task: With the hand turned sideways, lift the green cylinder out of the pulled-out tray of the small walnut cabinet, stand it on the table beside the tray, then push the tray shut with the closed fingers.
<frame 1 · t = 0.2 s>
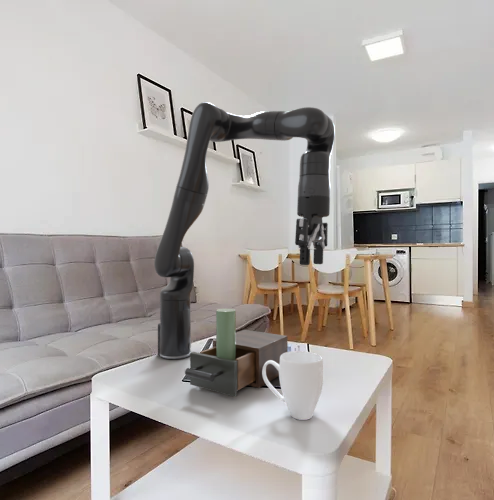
hand: (311, 264, 86), 29 cm above the table, tool pointing down, fingers open, 8 cm apart
green cylinder: (226, 377, 86), point 2 cm above the table, touching drawer
mug: (291, 414, 72), on the table
cabinet: (250, 373, 95), on the table
drawer: (223, 368, 85), point 5 cm above the table, slide at 8.0 cm, touching green cylinder
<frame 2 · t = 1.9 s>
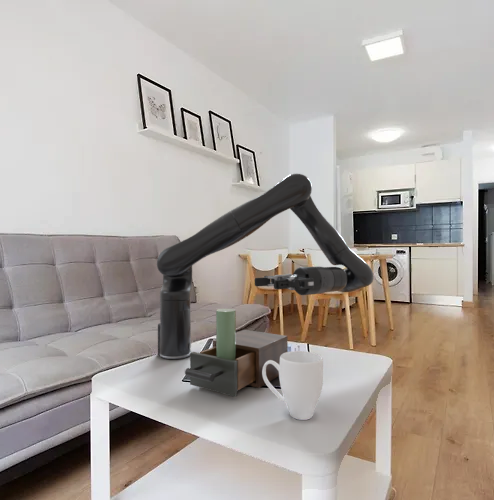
hand: (264, 283, 91), 24 cm above the table, tool horizontal, fingers open, 8 cm apart
nothing on the table moved.
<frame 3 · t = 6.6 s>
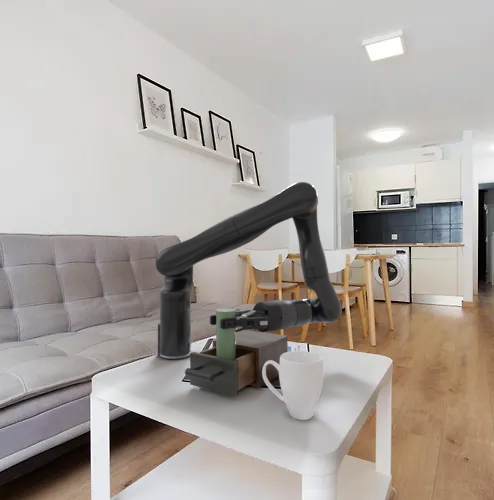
hand: (215, 322, 84), 15 cm above the table, tool horizontal, fingers closed on green cylinder, 4 cm apart
green cylinder: (226, 377, 86), point 2 cm above the table, touching drawer, gripper
everything else where it was.
when the fingers open (13 cm above the table, at t = 13.9 s): green cylinder stays where it is, on the table.
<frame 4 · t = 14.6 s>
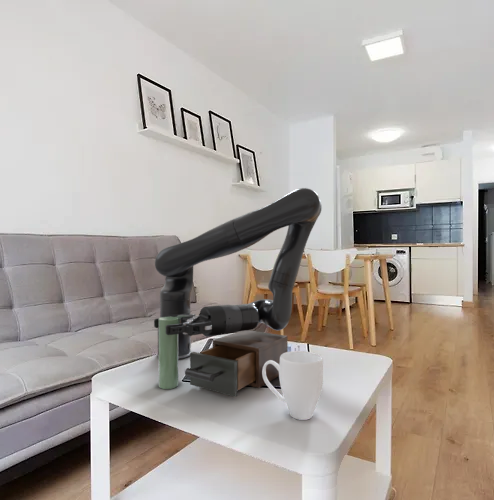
hand: (160, 326, 86), 14 cm above the table, tool horizontal, fingers open, 8 cm apart
green cylinder: (168, 385, 86), on the table
drawer: (223, 368, 85), point 5 cm above the table, slide at 8.0 cm
everything else where it was.
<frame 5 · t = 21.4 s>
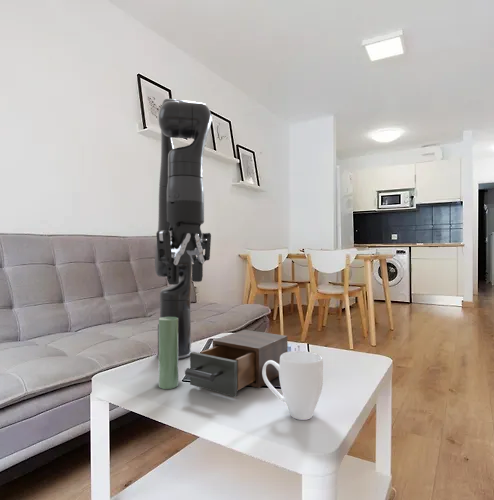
hand: (185, 282, 74), 26 cm above the table, tool pointing down, fingers open, 6 cm apart
nothing on the table moved.
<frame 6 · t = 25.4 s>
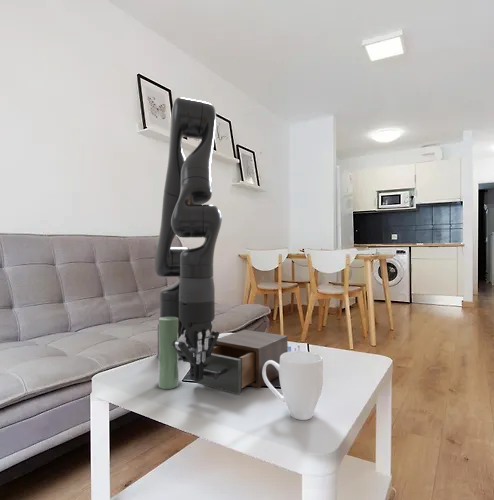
hand: (197, 380, 77), 5 cm above the table, tool pointing down, fingers closed
drawer: (226, 366, 86), point 5 cm above the table, slide at 6.5 cm, touching gripper
everything else where it was.
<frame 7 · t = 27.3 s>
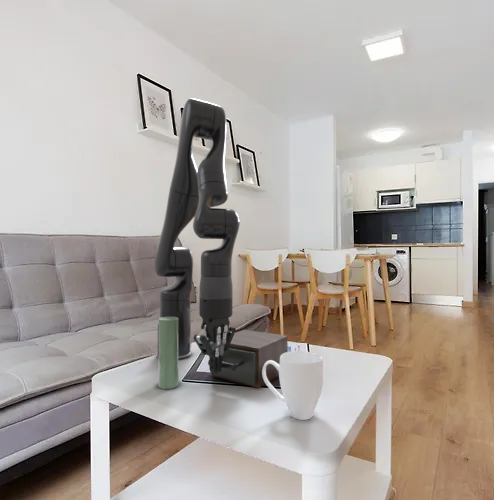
hand: (215, 372, 82), 5 cm above the table, tool pointing down, fingers closed
drawer: (242, 359, 91), point 5 cm above the table, slide at 0.0 cm, touching cabinet, gripper
everything else where it was.
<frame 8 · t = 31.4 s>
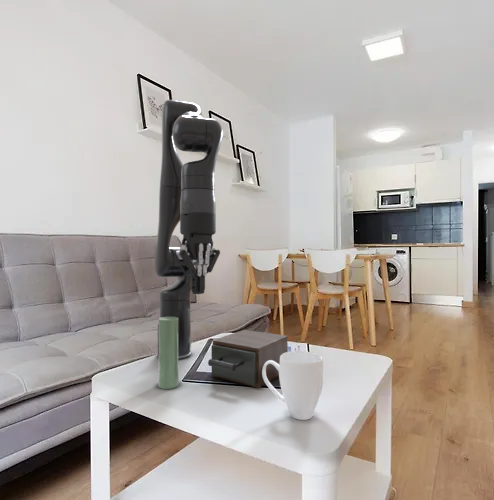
hand: (198, 293, 77), 23 cm above the table, tool pointing down, fingers closed
drawer: (242, 359, 91), point 5 cm above the table, slide at 0.0 cm
everything else where it was.
at the end: green cylinder inside the target area (0.1 cm from its centre), on the table; green cylinder tilted 0°; drawer slide at 0.0 cm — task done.
